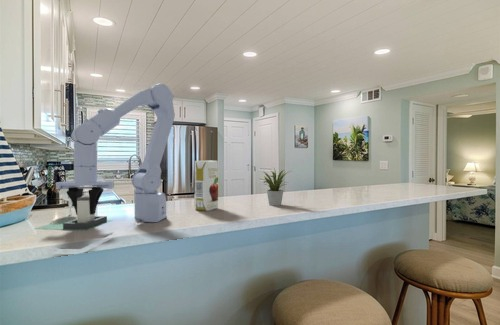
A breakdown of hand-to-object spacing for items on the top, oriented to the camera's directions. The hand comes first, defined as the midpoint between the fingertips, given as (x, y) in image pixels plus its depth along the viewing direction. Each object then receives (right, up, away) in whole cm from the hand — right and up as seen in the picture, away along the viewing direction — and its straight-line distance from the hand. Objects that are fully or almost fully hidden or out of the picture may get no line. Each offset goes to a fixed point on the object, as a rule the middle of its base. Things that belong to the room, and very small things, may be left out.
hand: (86, 214), depth 81 cm
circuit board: (-3, -4, +1) cm, 5 cm away
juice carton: (+30, -4, +30) cm, 42 cm away
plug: (0, -2, 0) cm, 2 cm away
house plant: (+59, -4, +40) cm, 72 cm away
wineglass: (-13, -4, +14) cm, 20 cm away
